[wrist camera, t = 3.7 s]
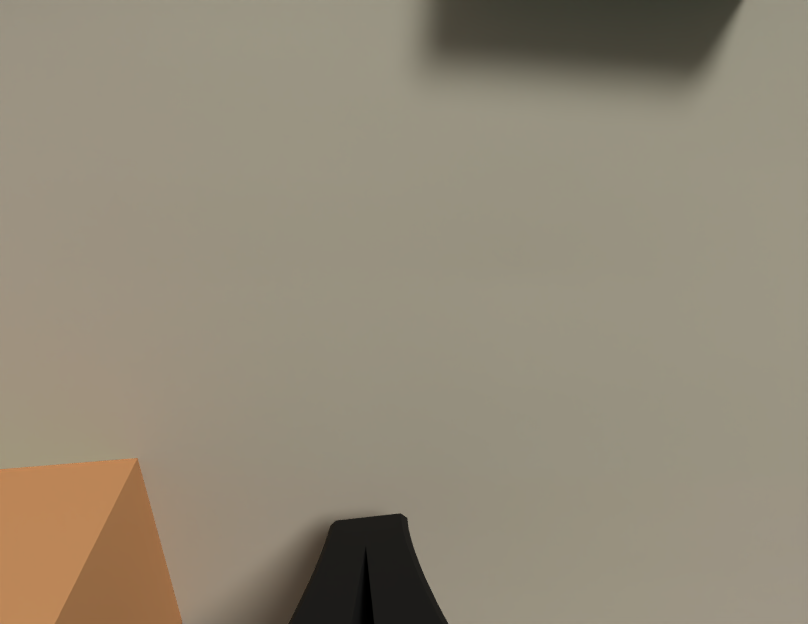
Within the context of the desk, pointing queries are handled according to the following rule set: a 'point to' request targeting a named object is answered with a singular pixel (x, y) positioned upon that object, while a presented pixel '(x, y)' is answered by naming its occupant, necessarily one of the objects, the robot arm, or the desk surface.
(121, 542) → the doorstop wedge
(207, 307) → the desk surface
